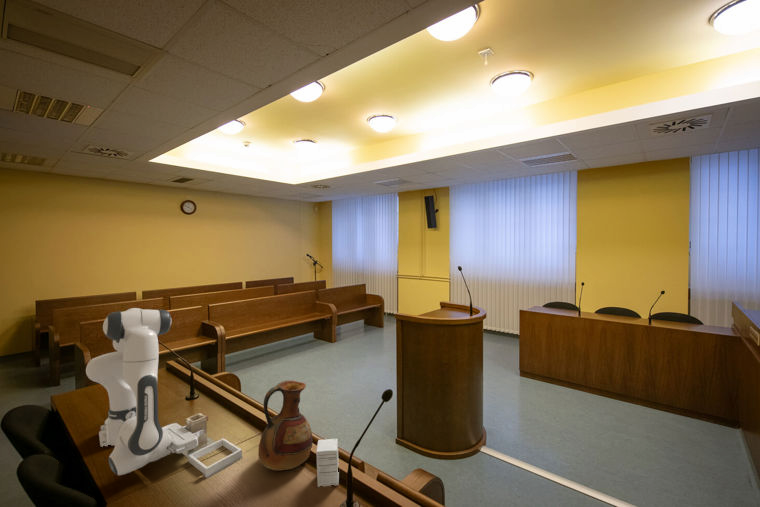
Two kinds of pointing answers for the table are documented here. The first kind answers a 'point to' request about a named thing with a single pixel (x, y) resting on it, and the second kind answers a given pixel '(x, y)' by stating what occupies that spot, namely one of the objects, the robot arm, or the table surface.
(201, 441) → the sleeve
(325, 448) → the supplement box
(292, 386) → the ceramic pitcher
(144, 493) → the table surface
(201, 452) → the rectangular frame
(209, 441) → the base plate with pin
